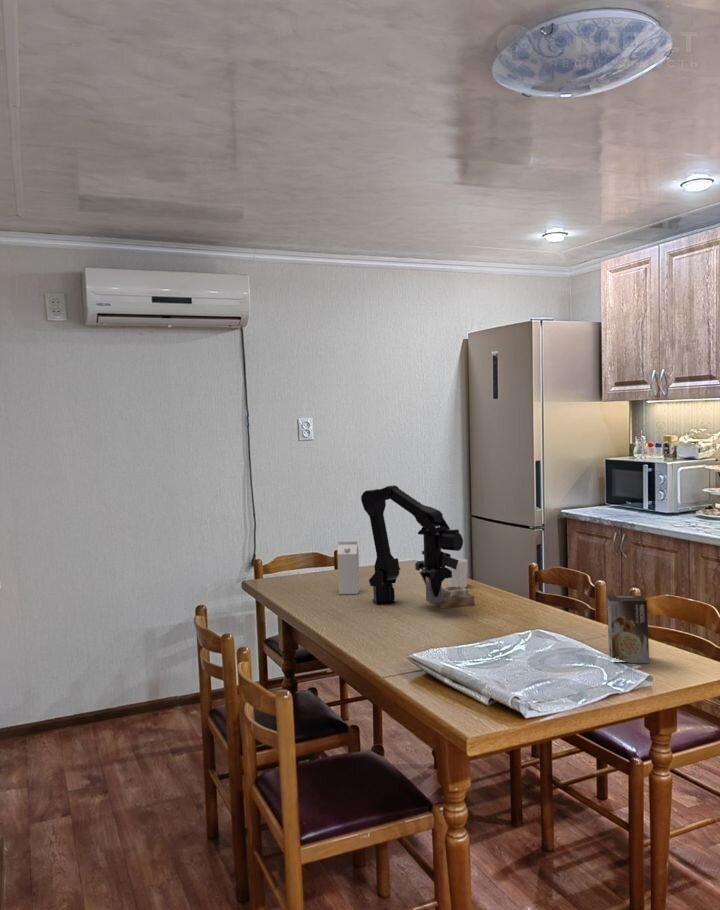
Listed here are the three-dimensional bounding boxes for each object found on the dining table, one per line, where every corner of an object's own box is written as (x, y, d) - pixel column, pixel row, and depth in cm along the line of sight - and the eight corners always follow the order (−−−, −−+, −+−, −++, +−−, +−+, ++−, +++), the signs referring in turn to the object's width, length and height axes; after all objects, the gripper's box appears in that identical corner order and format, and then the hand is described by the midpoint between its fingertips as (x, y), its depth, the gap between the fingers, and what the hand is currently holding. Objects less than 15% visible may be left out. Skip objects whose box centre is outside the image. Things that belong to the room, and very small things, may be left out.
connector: (430, 603, 251) (429, 579, 250) (426, 600, 255) (425, 576, 254) (441, 602, 252) (441, 578, 251) (437, 599, 256) (436, 575, 255)
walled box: (441, 608, 255) (440, 593, 255) (429, 601, 266) (429, 587, 265) (474, 605, 258) (473, 590, 258) (461, 598, 269) (461, 584, 269)
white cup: (472, 587, 286) (471, 560, 286) (456, 590, 282) (455, 563, 282) (459, 583, 293) (458, 557, 292) (442, 586, 289) (442, 560, 288)
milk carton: (341, 590, 288) (339, 540, 287) (359, 590, 288) (358, 539, 287) (338, 594, 281) (337, 543, 280) (358, 594, 280) (356, 542, 280)
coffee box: (644, 656, 198) (643, 594, 197) (649, 664, 192) (648, 600, 191) (608, 655, 200) (606, 594, 199) (611, 663, 193) (610, 600, 193)
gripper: (466, 550, 246) (467, 598, 246) (444, 542, 264) (445, 587, 264) (433, 553, 243) (435, 602, 243) (414, 545, 261) (415, 590, 261)
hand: (433, 595), depth 253 cm, fingers closed on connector, 4 cm apart
